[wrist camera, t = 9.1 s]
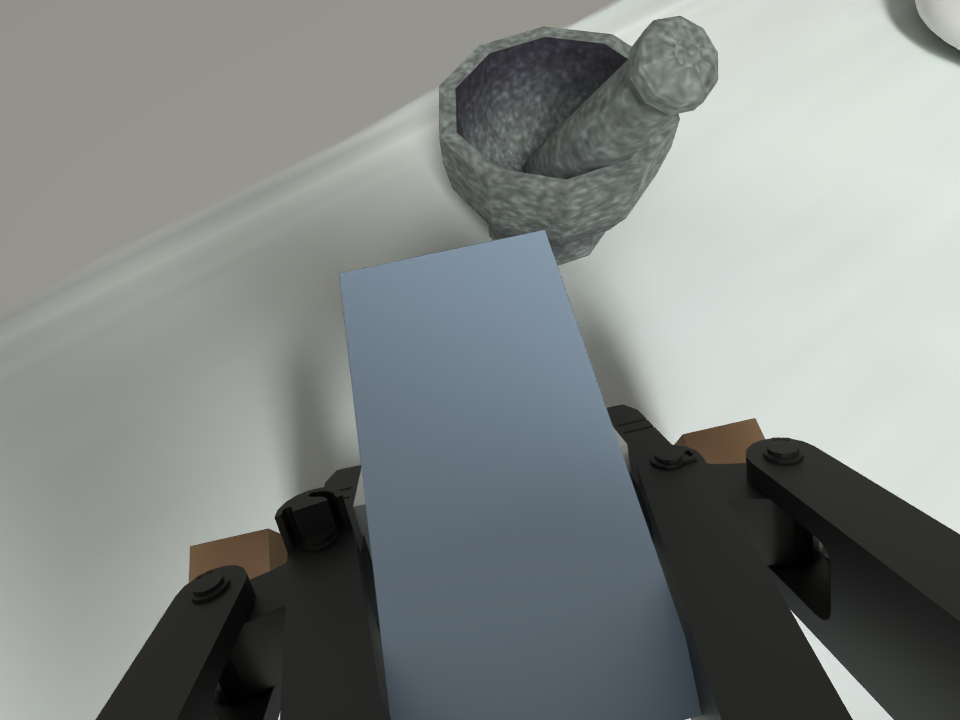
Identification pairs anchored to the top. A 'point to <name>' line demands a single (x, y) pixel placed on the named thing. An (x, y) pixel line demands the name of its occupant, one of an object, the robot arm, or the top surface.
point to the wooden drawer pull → (270, 552)
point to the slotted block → (502, 500)
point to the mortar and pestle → (569, 126)
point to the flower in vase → (942, 18)
